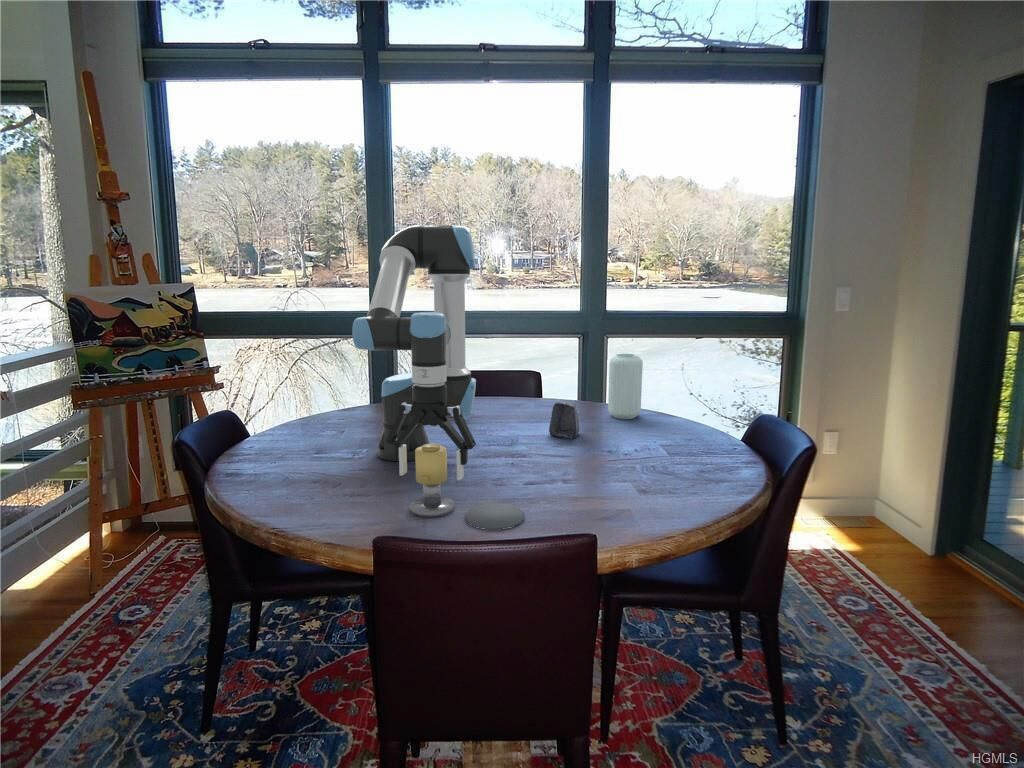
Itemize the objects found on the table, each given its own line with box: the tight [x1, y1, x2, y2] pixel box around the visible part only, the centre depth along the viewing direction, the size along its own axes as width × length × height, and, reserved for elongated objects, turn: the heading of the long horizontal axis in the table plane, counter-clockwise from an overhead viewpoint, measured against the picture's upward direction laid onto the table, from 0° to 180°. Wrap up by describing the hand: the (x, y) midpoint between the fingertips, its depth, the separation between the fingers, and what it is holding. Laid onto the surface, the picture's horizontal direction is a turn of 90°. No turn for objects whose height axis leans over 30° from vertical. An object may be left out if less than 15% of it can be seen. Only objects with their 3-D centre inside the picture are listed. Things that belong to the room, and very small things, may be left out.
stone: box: [548, 401, 580, 439], centre depth 209 cm, size 12×10×10 cm
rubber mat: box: [464, 502, 525, 530], centre depth 144 cm, size 13×13×1 cm
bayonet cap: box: [414, 443, 448, 485], centre depth 146 cm, size 7×9×8 cm
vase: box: [607, 352, 644, 420], centre depth 231 cm, size 12×12×22 cm
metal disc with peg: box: [409, 483, 455, 519], centre depth 148 cm, size 10×10×7 cm
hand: (431, 476), depth 147 cm, fingers open, 13 cm apart
